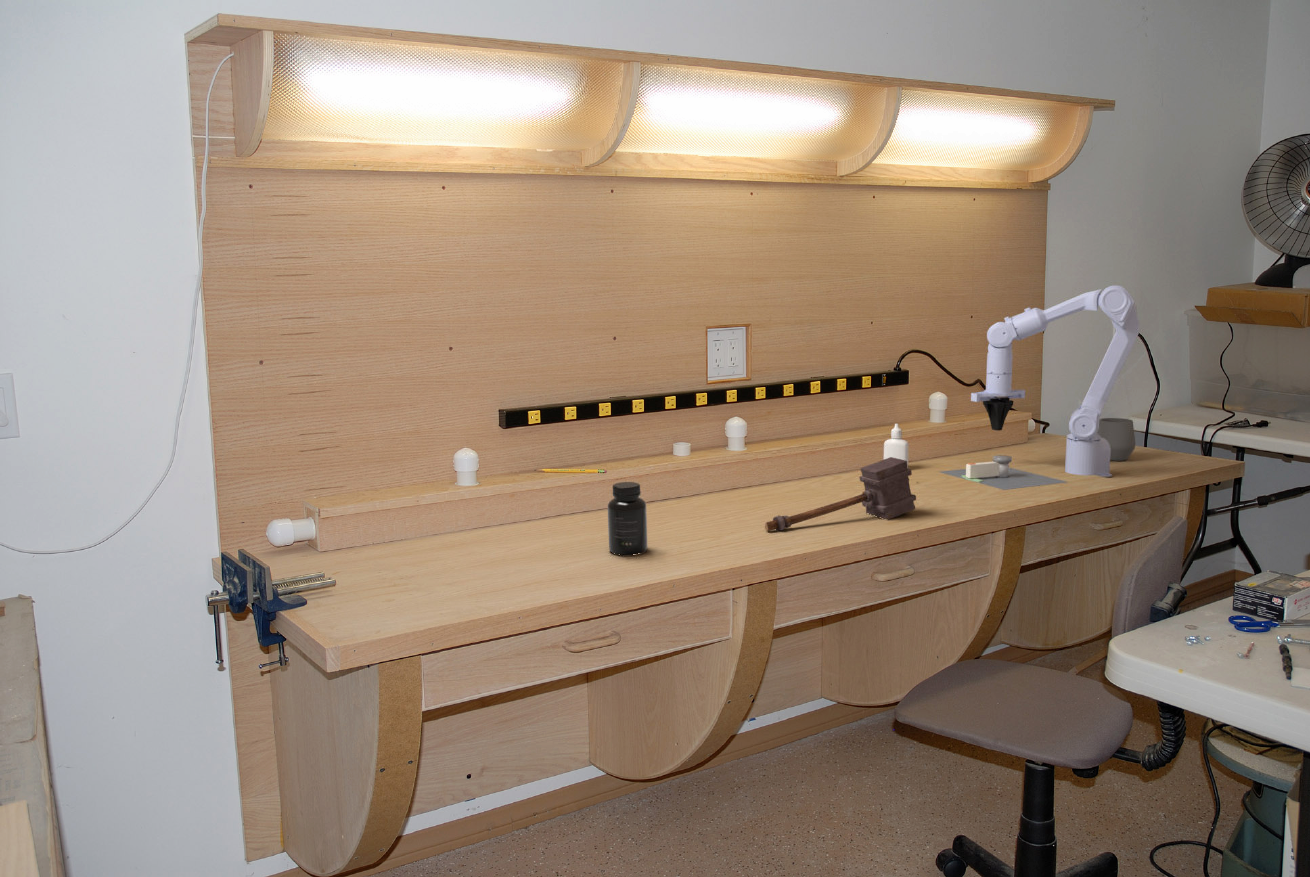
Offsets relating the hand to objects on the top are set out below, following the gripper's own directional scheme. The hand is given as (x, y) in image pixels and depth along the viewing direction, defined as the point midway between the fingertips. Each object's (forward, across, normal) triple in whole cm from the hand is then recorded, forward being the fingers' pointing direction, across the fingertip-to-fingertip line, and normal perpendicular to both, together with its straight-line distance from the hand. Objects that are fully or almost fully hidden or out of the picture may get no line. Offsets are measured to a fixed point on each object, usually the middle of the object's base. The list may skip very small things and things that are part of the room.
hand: (996, 429), depth 237 cm
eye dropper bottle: (+10, +23, -8) cm, 26 cm away
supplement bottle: (+10, +105, +27) cm, 109 cm away
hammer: (+10, +61, +26) cm, 67 cm away
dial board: (+10, +7, +10) cm, 16 cm away
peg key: (+9, +10, +10) cm, 17 cm away
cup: (+10, -36, +2) cm, 37 cm away
